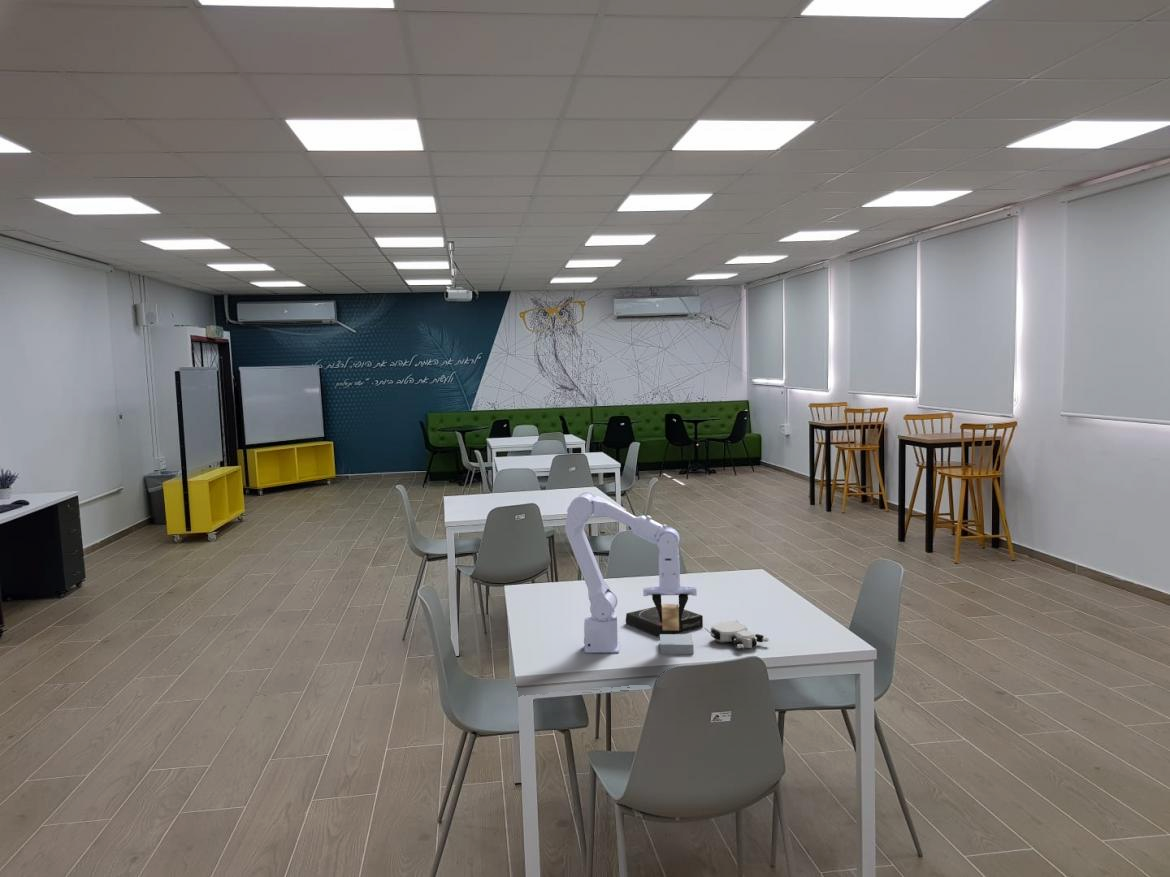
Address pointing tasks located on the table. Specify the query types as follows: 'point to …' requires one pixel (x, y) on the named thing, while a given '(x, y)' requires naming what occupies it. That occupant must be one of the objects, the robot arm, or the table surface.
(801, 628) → the table surface
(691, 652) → the slate base
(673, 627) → the oak block
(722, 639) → the robot toy
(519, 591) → the table surface
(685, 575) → the table surface
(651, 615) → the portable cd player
